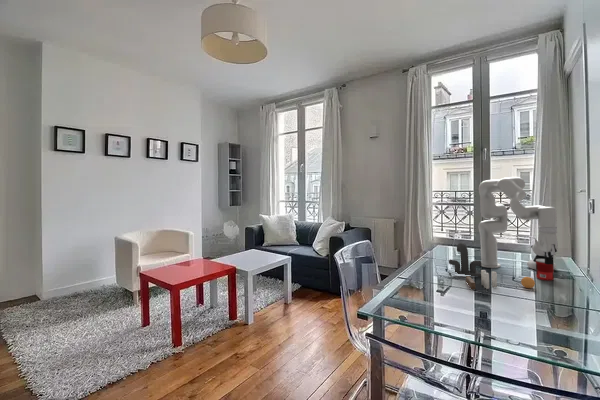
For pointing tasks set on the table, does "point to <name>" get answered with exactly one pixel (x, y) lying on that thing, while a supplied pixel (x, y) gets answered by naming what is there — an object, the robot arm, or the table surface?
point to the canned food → (544, 270)
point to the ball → (527, 282)
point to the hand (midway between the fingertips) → (549, 264)
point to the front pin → (494, 279)
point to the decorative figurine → (539, 255)
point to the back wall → (470, 282)
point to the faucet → (465, 262)
